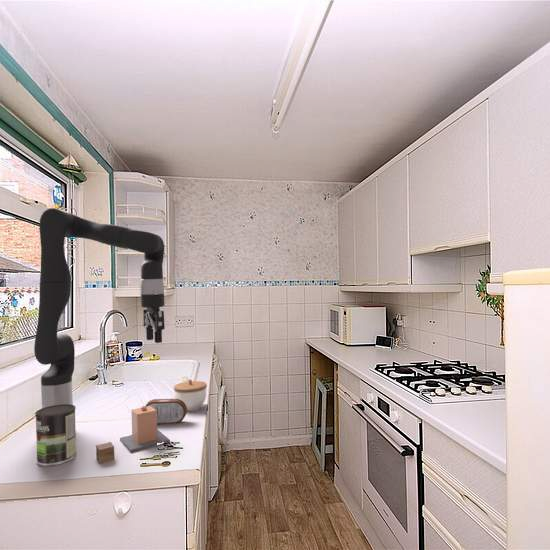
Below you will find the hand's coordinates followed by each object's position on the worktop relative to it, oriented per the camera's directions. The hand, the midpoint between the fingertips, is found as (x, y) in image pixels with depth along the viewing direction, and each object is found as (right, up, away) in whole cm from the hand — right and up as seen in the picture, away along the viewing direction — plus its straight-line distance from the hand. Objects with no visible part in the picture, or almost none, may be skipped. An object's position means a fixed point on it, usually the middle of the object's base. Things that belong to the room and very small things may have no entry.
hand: (154, 341), depth 139 cm
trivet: (0, -30, -9) cm, 31 cm away
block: (-8, -30, -21) cm, 38 cm away
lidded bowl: (+8, -30, +24) cm, 39 cm away
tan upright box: (0, -29, -8) cm, 30 cm away
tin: (+2, -30, +8) cm, 31 cm away
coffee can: (-22, -31, -19) cm, 43 cm away
